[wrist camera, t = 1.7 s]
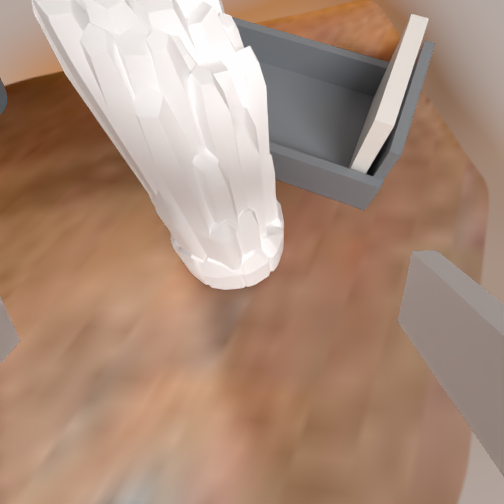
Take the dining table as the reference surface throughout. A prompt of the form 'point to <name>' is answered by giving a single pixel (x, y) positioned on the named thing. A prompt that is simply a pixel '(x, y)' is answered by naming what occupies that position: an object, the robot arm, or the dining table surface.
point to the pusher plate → (389, 96)
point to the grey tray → (326, 111)
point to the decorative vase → (181, 122)
